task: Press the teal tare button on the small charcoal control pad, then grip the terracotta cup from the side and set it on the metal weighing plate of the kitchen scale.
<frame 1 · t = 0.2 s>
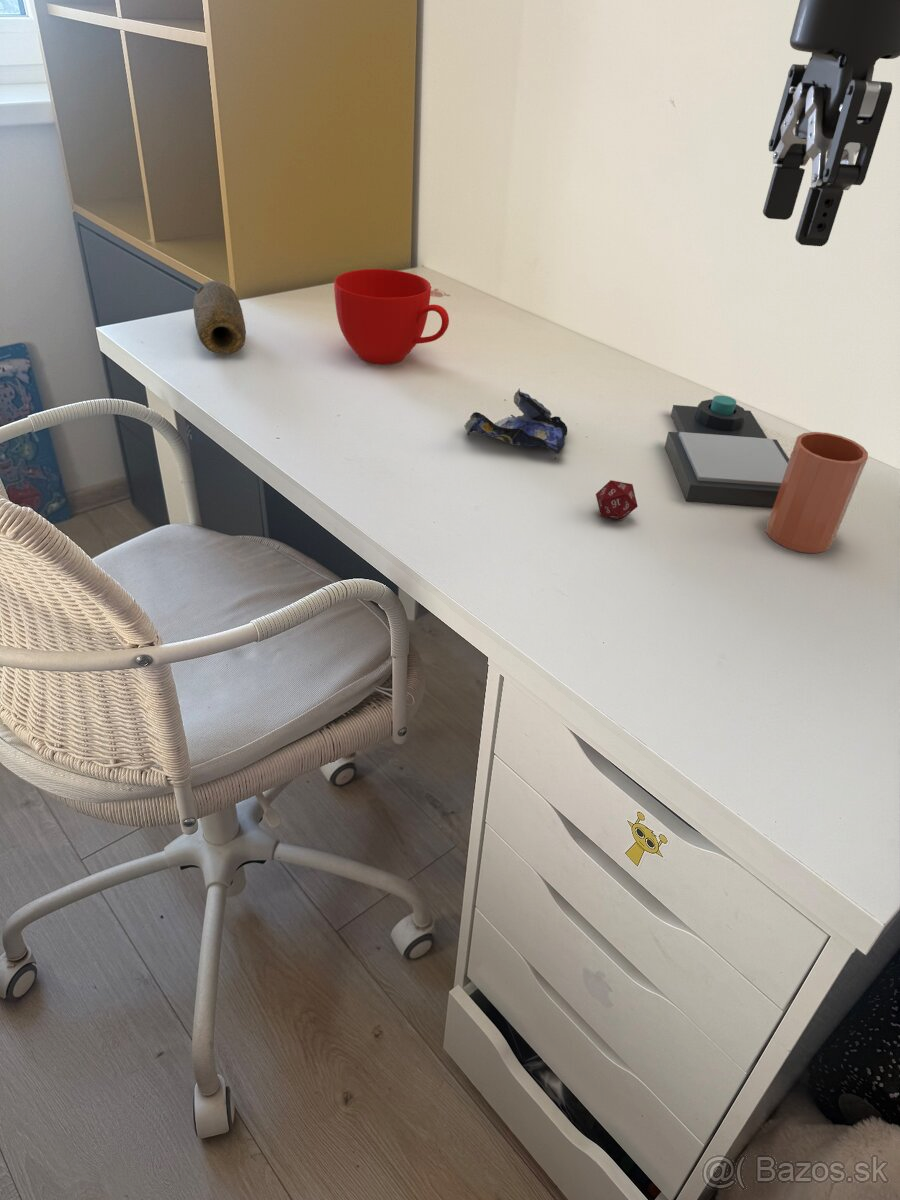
hand: (791, 230, 64), 29 cm above the table, tool pointing down, fingers open, 8 cm apart
dice: (612, 518, 85), on the table
tare button: (723, 405, 102), point 3 cm above the table, slide at 0.1 cm
cup: (798, 535, 85), on the table
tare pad: (716, 431, 104), on the table
ceramic cup: (393, 360, 116), on the table
snack package: (519, 442, 98), on the table
scale: (731, 476, 94), on the table
stone weight: (221, 342, 117), on the table
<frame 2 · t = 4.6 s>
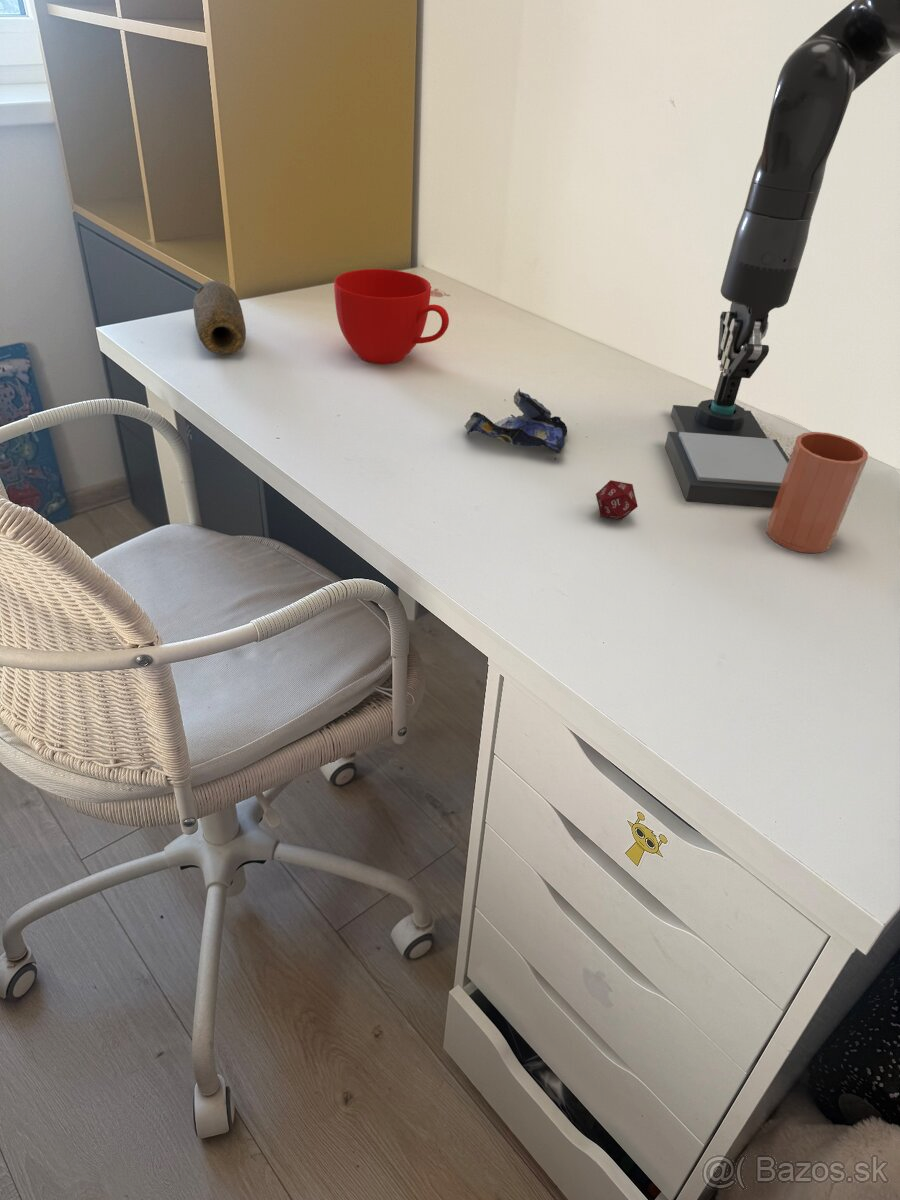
hand: (723, 403, 102), 4 cm above the table, tool pointing down, fingers closed
tare button: (722, 409, 102), point 3 cm above the table, slide at -0.4 cm, touching gripper
everything else where it was.
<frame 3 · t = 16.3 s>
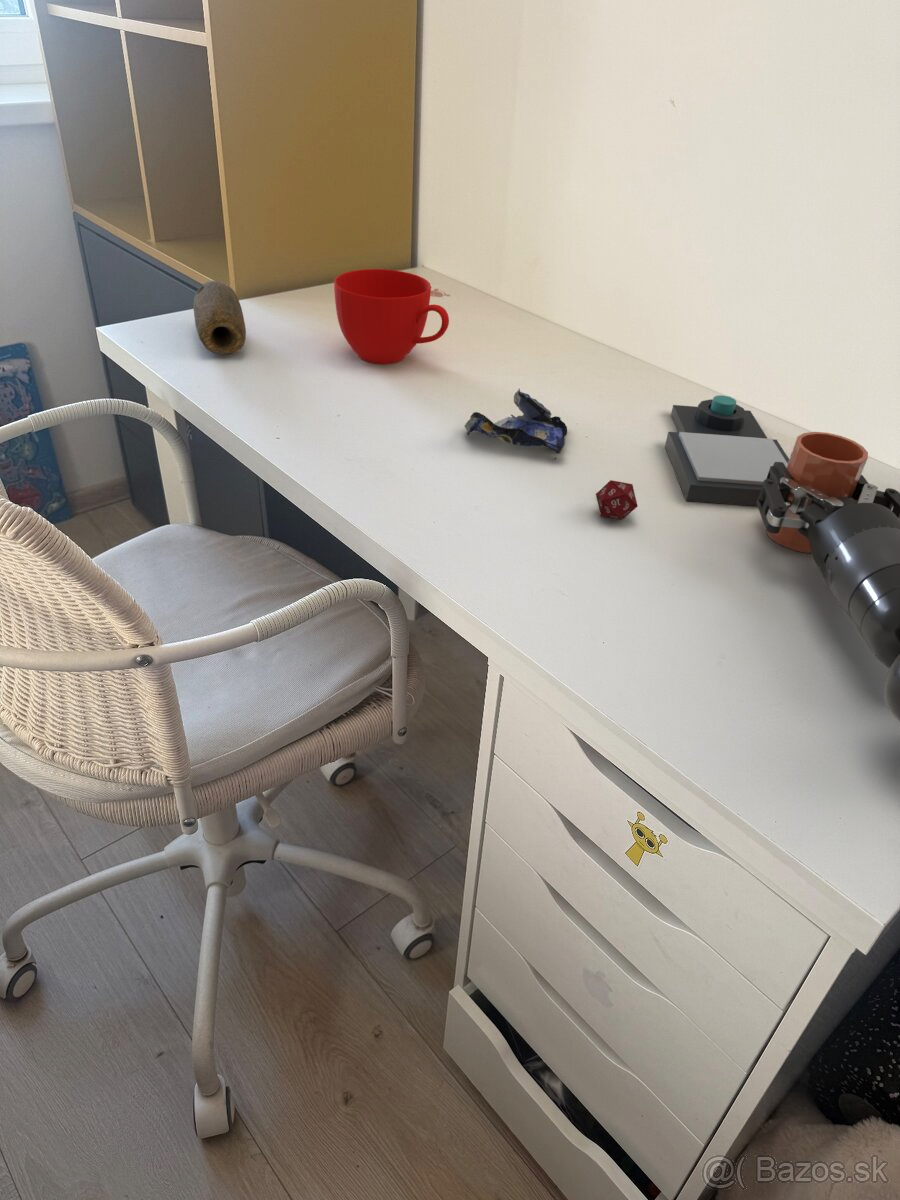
hand: (810, 472, 83), 6 cm above the table, tool horizontal, fingers closed on cup, 6 cm apart
tare button: (723, 405, 102), point 3 cm above the table, slide at 0.1 cm
cup: (798, 535, 85), on the table, touching gripper
everything else where it was.
when the fingers open (9 cm above the table, at t = 23.7 s): cup stays where it is, resting on scale.
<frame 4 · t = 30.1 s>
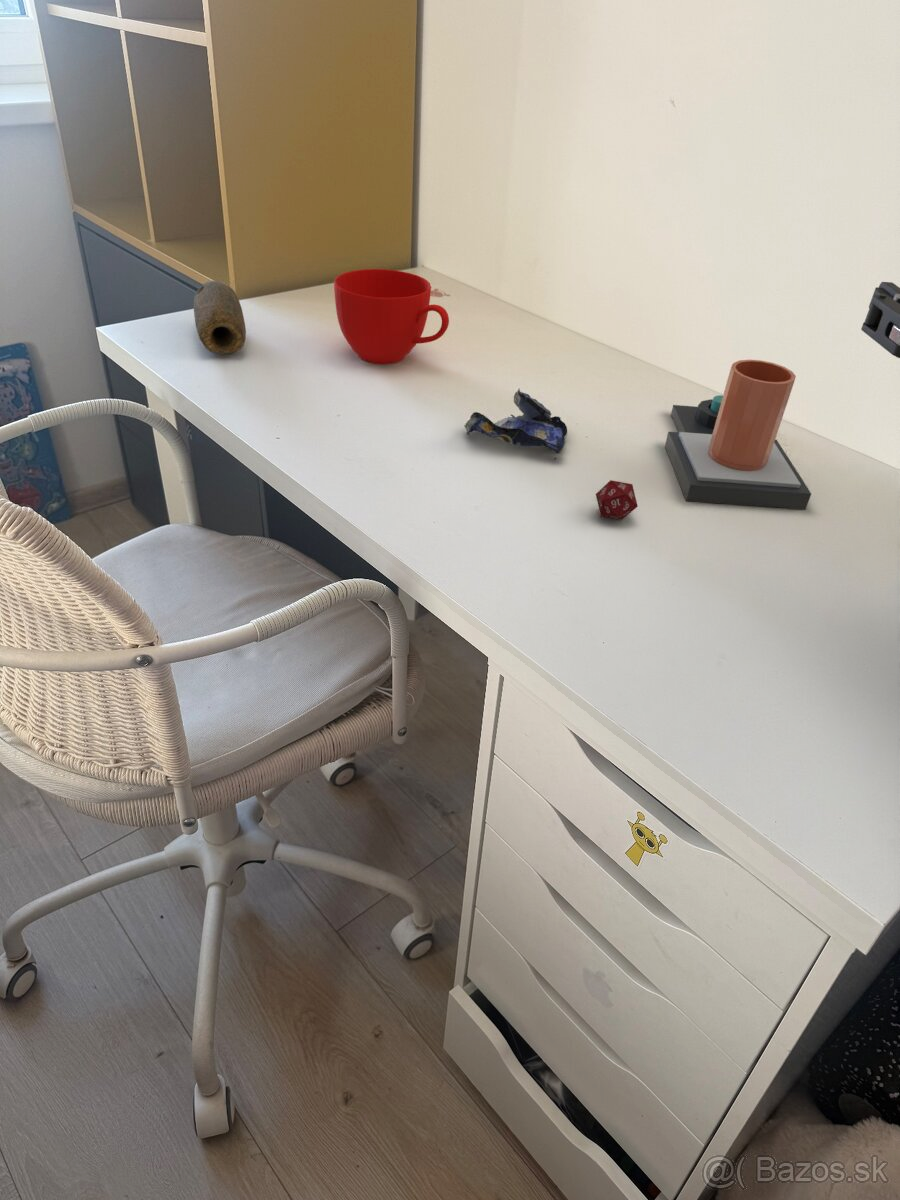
cup: (737, 457, 93), point 2 cm above the table, touching scale
everything else where it was.
at the end: tare button pushed in 0.9 cm at the most during the clip, back to where it started at the end; cup inside the target area on the scale (0.1 cm from its centre), point 2.5 cm above the scale's base; cup tilted 0° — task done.
